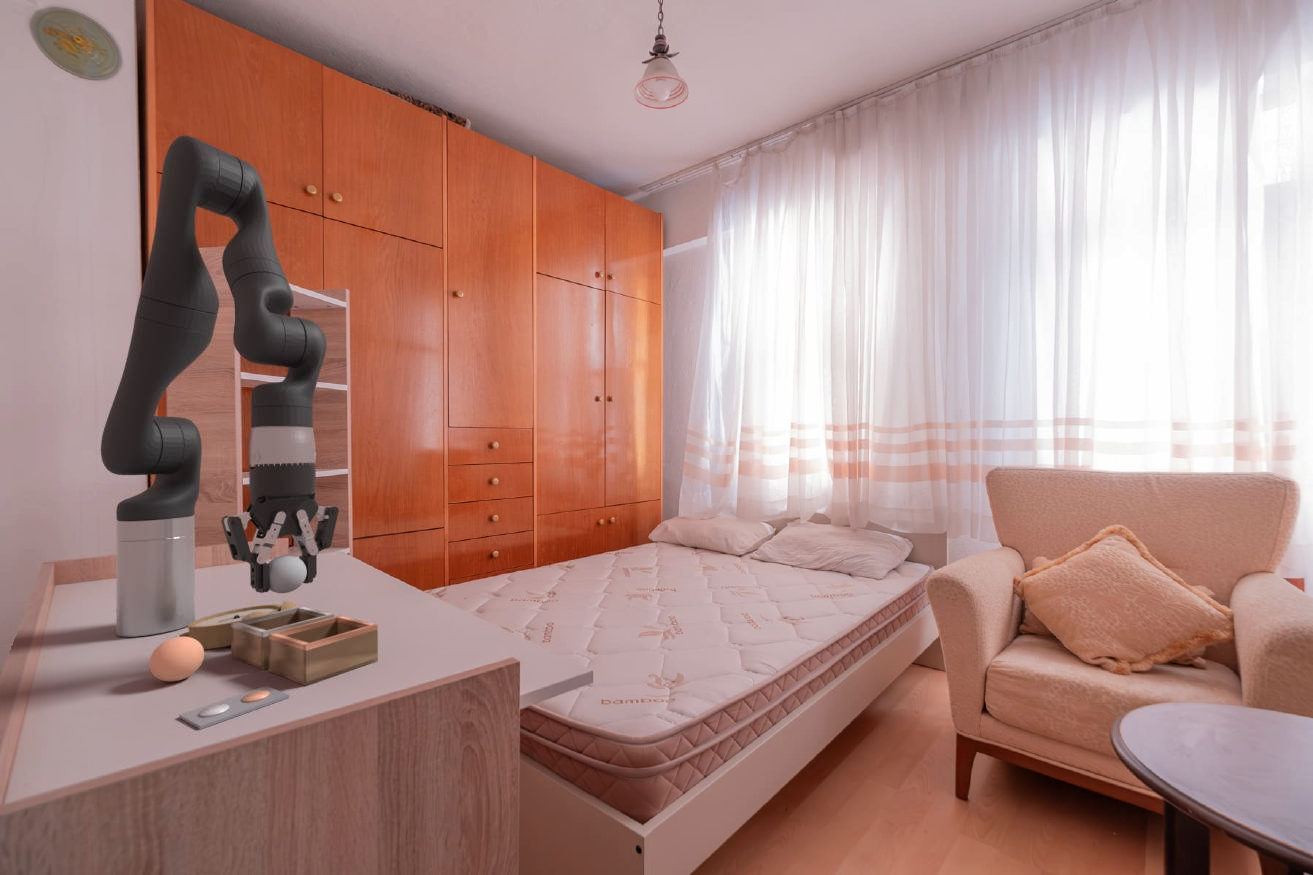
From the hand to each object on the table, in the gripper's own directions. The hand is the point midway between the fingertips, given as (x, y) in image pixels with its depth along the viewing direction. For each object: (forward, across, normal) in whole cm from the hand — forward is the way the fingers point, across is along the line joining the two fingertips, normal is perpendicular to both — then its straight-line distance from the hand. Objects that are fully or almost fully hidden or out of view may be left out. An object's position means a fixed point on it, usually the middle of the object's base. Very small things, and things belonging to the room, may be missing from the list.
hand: (284, 586), depth 76 cm
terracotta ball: (+6, +11, -2) cm, 13 cm away
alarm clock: (+9, -1, -12) cm, 16 cm away
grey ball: (-2, 0, 0) cm, 2 cm away
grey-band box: (+9, 0, 0) cm, 9 cm away
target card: (+9, +11, +13) cm, 20 cm away
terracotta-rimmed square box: (+9, 0, +10) cm, 13 cm away
